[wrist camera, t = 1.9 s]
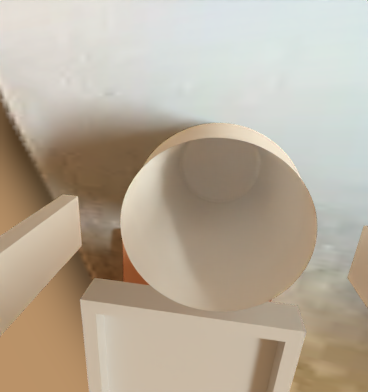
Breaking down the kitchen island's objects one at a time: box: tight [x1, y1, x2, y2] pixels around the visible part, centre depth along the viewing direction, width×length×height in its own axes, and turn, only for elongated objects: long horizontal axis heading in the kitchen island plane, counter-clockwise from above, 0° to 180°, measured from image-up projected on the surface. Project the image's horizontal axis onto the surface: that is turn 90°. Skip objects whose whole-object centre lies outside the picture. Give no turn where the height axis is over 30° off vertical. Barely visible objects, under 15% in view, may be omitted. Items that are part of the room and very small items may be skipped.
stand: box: [80, 244, 306, 392], centre depth 25 cm, size 14×14×10 cm
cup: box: [120, 123, 317, 312], centre depth 18 cm, size 9×9×12 cm
